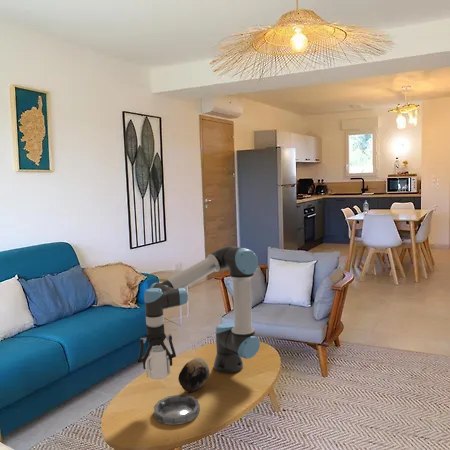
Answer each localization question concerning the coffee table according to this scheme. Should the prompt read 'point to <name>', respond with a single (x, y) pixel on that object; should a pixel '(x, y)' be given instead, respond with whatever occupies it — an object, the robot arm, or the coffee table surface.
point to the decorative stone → (194, 374)
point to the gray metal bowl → (176, 409)
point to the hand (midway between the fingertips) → (158, 374)
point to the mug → (157, 363)
